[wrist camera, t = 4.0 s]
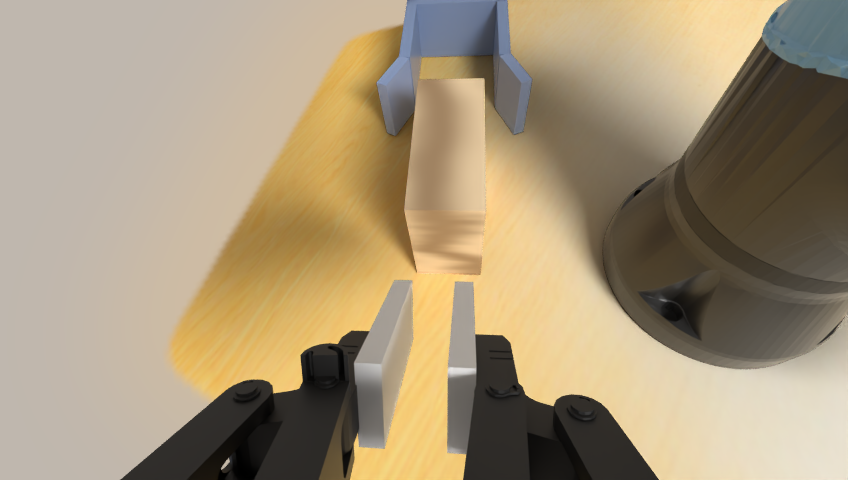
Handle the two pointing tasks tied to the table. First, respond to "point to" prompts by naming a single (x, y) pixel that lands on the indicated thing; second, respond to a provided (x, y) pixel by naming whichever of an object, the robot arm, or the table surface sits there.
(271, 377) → the table surface
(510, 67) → the blue u-shaped bracket
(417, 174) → the block
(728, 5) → the table surface
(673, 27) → the table surface
